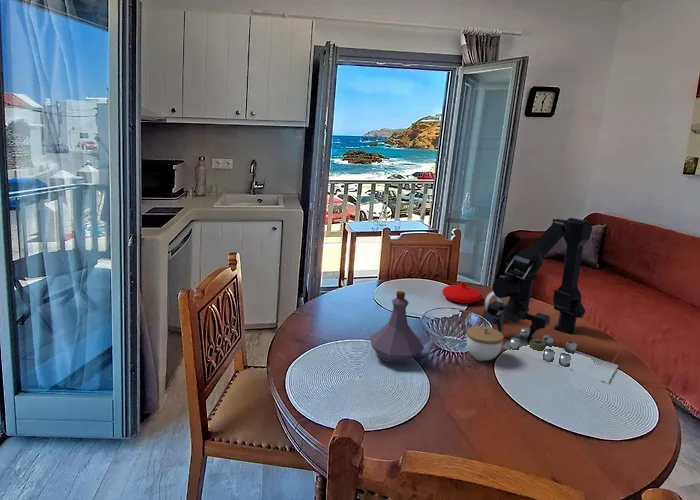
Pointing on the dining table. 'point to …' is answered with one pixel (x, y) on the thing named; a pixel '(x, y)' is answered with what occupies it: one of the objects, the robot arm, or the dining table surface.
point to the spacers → (548, 353)
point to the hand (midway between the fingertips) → (514, 338)
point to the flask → (397, 335)
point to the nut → (537, 344)
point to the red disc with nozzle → (462, 293)
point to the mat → (598, 362)
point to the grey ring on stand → (487, 302)
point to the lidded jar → (484, 342)
